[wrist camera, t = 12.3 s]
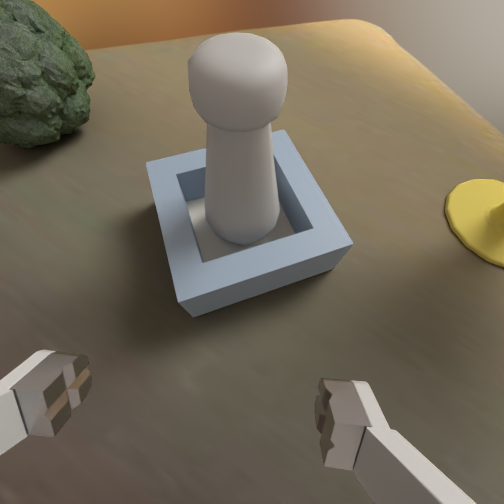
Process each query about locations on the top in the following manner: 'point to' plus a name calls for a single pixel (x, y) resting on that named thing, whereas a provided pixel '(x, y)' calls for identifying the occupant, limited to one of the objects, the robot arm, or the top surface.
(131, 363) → the top surface
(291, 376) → the top surface
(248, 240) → the salt shaker
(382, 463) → the robot arm
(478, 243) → the candle
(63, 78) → the vegetable
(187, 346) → the top surface
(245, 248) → the container
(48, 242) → the top surface
